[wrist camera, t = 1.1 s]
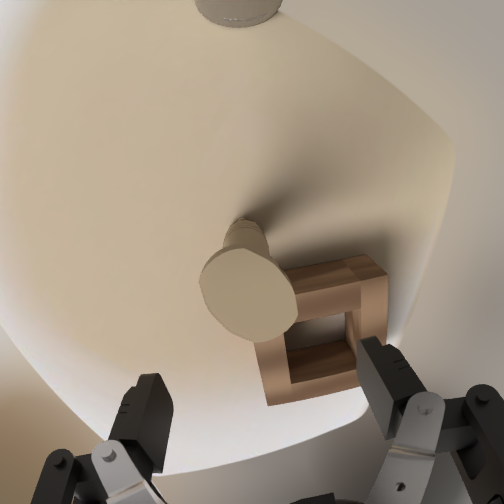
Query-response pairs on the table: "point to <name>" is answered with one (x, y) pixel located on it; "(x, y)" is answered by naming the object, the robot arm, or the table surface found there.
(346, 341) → the wooden block
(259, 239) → the handle
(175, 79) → the table surface
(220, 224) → the table surface
